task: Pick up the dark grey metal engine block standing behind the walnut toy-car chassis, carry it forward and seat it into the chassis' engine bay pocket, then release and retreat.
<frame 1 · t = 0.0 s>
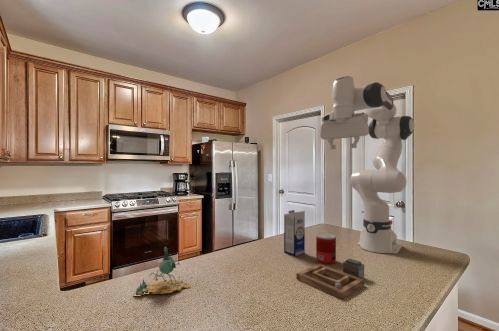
hand: (343, 148, 103), 48 cm above the countertop, fingers open, 8 cm apart
milk carton: (294, 253, 115), on the countertop
engine block: (353, 276, 90), on the countertop
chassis: (330, 281, 87), on the countertop
canned food: (325, 261, 105), on the countertop
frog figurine: (163, 290, 80), on the countertop
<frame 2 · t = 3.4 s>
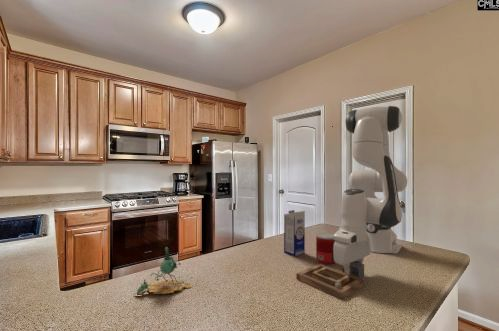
hand: (353, 271, 90), 2 cm above the countertop, fingers open, 6 cm apart
nothing on the countertop moved.
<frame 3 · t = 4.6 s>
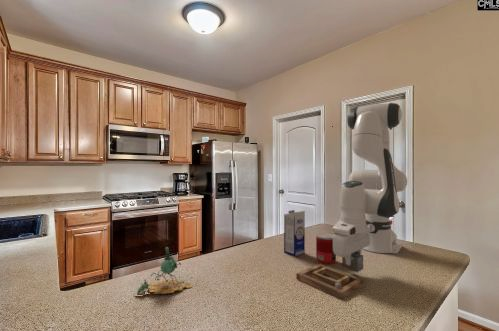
hand: (352, 262, 92), 5 cm above the countertop, fingers closed on engine block, 4 cm apart
engine block: (352, 267, 92), point 3 cm above the countertop, touching gripper
everything else where it was.
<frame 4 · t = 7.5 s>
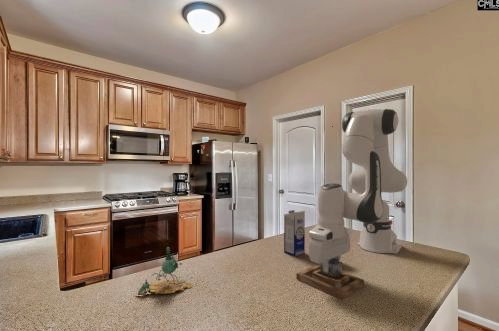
hand: (331, 269, 87), 4 cm above the countertop, fingers closed on engine block, 4 cm apart
engine block: (330, 275, 87), point 2 cm above the countertop, touching gripper
everything else where it was.
when the fingers open (4 cm above the countertop, at t = 7.7 s): engine block drops 2 cm, resting in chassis.
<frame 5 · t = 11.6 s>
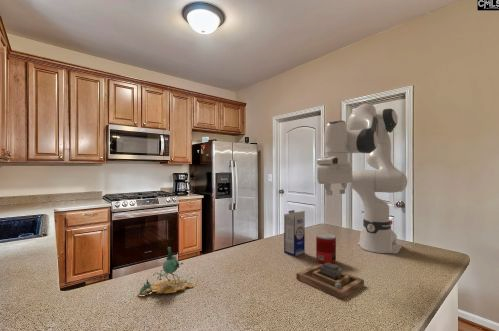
hand: (336, 194, 100), 29 cm above the countertop, fingers open, 8 cm apart
engine block: (330, 281, 87), resting in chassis
at the end: engine block 0.1 cm off-centre on the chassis, point 0.0 cm above the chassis's base; engine block tilted 0°; the gripper is holding nothing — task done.
